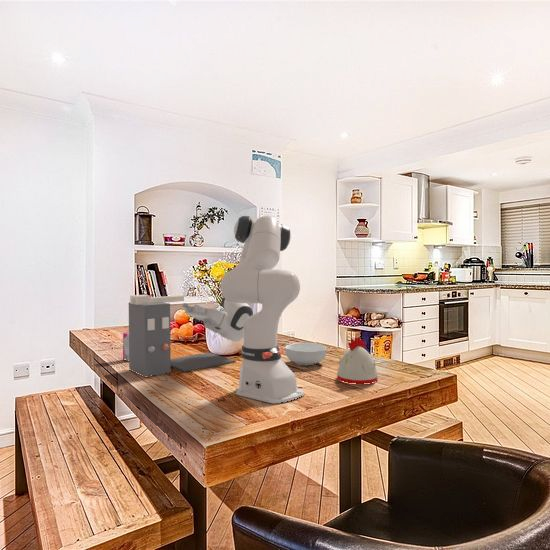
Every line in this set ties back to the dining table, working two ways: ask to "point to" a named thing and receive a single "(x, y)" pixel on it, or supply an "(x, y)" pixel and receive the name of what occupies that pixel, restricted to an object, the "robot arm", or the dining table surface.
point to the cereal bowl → (305, 353)
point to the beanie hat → (357, 364)
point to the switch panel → (149, 338)
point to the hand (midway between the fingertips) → (189, 305)
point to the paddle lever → (153, 299)
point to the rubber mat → (199, 361)
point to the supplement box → (126, 346)
